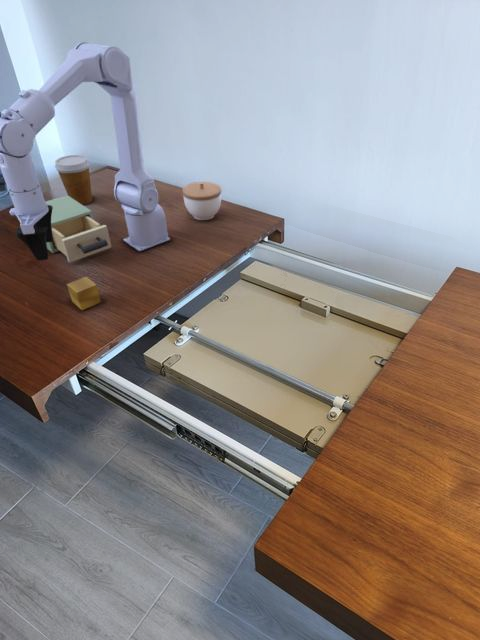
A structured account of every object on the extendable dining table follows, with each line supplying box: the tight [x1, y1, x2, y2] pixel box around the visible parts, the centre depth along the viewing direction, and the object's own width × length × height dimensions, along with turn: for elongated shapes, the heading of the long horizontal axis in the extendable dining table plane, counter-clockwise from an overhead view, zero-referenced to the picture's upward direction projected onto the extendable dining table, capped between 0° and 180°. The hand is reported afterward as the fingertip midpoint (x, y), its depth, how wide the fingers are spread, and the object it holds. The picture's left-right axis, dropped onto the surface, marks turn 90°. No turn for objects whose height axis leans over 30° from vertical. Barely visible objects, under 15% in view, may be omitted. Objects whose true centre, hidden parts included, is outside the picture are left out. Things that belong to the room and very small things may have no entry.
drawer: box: [51, 215, 112, 263], centre depth 116 cm, size 17×11×6 cm
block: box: [66, 276, 102, 311], centre depth 101 cm, size 4×4×4 cm
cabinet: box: [45, 194, 94, 254], centre depth 122 cm, size 13×12×7 cm
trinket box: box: [181, 181, 222, 221], centre depth 132 cm, size 11×11×9 cm
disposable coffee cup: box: [54, 154, 93, 206], centre depth 138 cm, size 10×10×12 cm
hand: (45, 250), depth 99 cm, fingers open, 7 cm apart
